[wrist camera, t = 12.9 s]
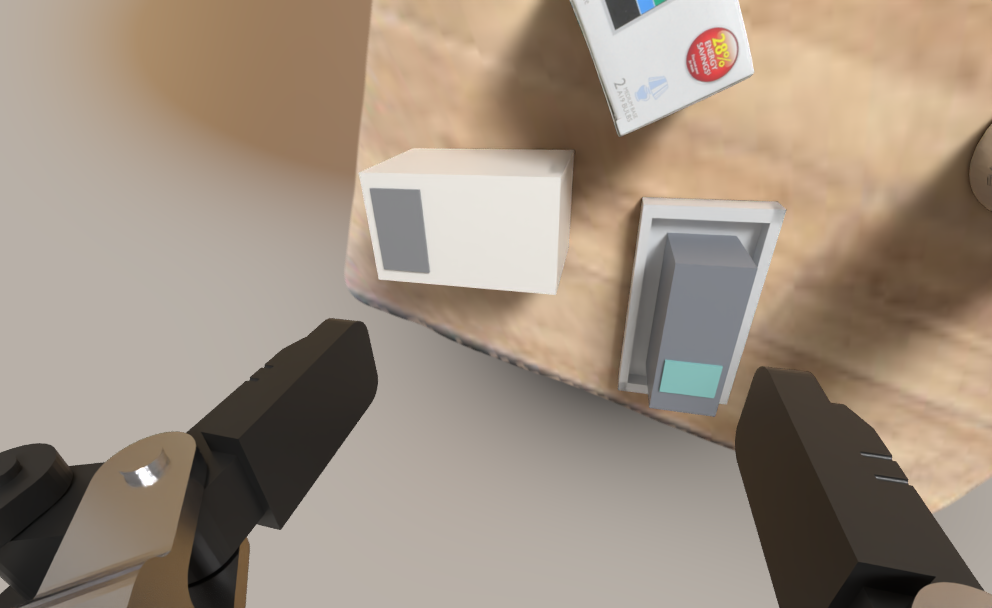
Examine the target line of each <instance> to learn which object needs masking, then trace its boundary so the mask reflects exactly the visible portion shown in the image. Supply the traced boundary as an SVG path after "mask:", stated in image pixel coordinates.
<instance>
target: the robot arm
mask: <svg viewBox="0 0 992 608" xmlns="http://www.w3.org/2000/svg"><path fill="white" fill-rule="evenodd" d="M969 179H970V184H971V189H972V191H973V193H974V195H975V196H976V198H977V200H978V201H979V202H980V203H981V204H982V205H983V206H985V207H986V208H987V209H988V210H990V211H992V124H991V125H990V127H989V128H988V129H987V130H986V132H985V133H984V135H983V136H982V138H981V140H980V141H979V143H978V145H977V146H976V149H975V151H974V154H973V157H972V160H971V163H970V172H969ZM377 385H378V375H377V370H376V366H375V361H374V357H373V352H372V348H371V343H370V338H369V334H368V330H367V327H366V325H365V324H364V323H363V322H361V321H352V320H343V319H334V318H329V319H327V320H325V321H324V322H323V323H321V324H320V325H319V326H318V327H317V328H316V329H315V330H314V331H312V332H311V333H310V334H309V335H308V336H307V337H305V338H303V339H301V340H299V341H297V342H295V343H293V344H291V345H289V346H288V347H286V348H284V349H282V350H281V351H280V352H279V353H277V354H276V355H275V356H274V357H273V358H272V359H271V360H269V361H268V362H267V363H266V364H265V367H264V368H260V369H259V370H258V371H257V372H256V373H254V374H253V375H252V376H251V377H250V380H249V381H245V382H244V383H243V384H242V385H241V386H240V387H238V388H237V389H236V390H235V391H234V392H233V393H231V394H230V395H229V396H228V397H227V398H226V399H225V400H224V401H222V402H221V403H220V404H219V405H218V406H217V407H215V408H214V409H213V410H212V411H211V412H210V413H209V414H207V415H206V416H205V417H204V418H203V419H202V420H200V421H199V422H198V423H197V424H196V425H195V426H194V427H192V428H191V429H190V430H189V431H188V432H187V433H184V432H164V433H159V434H155V435H152V436H149V437H146V438H144V439H141V440H139V441H137V442H135V443H133V444H131V445H129V446H127V447H125V448H124V449H122V450H121V451H119V452H118V453H116V454H115V455H113V456H112V457H111V458H110V459H108V460H107V461H106V462H104V463H94V464H85V465H75V466H68V465H67V464H66V462H65V461H64V460H63V458H62V457H61V456H60V455H59V453H58V452H57V451H56V449H55V448H54V447H53V446H51V445H48V444H40V443H39V444H29V445H24V446H20V447H16V448H12V449H10V450H7V451H4V452H1V453H0V577H1V578H2V579H3V580H4V581H6V582H7V583H8V584H9V585H10V586H9V587H8V588H7V589H5V590H4V591H3V592H2V593H1V594H0V608H245V606H246V594H247V580H248V567H249V554H250V544H249V541H248V538H247V536H248V534H249V533H250V532H251V531H252V529H253V528H254V527H255V525H256V524H258V525H262V526H266V527H270V528H274V529H279V530H281V529H282V527H283V526H284V525H285V523H286V522H287V520H288V519H289V518H290V516H291V515H292V513H293V512H294V511H295V509H296V508H297V506H298V505H299V504H300V502H301V501H302V499H303V498H304V497H305V495H306V494H307V492H308V491H309V490H310V488H311V487H312V485H313V484H314V483H315V481H316V480H317V478H318V477H319V475H320V474H321V473H322V471H323V470H324V469H325V467H326V466H327V464H328V463H329V462H330V460H331V459H332V457H333V456H334V455H335V453H336V452H337V450H338V449H339V448H340V446H341V445H342V443H343V442H344V441H345V439H346V438H347V436H348V435H349V434H350V432H351V431H352V429H353V428H354V427H355V425H356V424H357V422H358V421H359V420H360V418H361V417H362V415H363V414H364V413H365V411H366V410H367V408H368V407H369V405H370V404H371V403H372V401H373V399H374V397H375V394H376V391H377ZM735 451H736V458H737V463H738V466H739V470H740V473H741V476H742V480H743V483H744V487H745V490H746V493H747V497H748V501H749V504H750V507H751V511H752V515H753V518H754V521H755V525H756V528H757V532H758V535H759V538H760V542H761V546H762V549H763V553H764V556H765V559H766V563H767V566H768V570H769V573H770V576H771V580H772V584H773V587H774V591H775V594H776V598H777V601H778V604H779V608H992V594H989V593H987V592H985V591H984V589H983V588H982V587H981V586H980V584H979V583H978V581H977V580H976V578H975V577H974V575H973V574H972V572H971V571H970V569H969V568H968V566H967V565H966V564H965V562H964V560H963V559H962V558H961V556H960V555H959V553H958V552H957V550H956V549H955V547H954V546H953V544H952V543H951V542H950V540H949V538H948V537H947V536H946V534H945V533H944V531H943V530H942V528H941V527H940V525H939V524H938V522H937V521H936V519H935V518H934V517H933V515H932V513H931V512H930V511H929V509H928V508H927V506H926V505H925V503H924V502H923V500H922V499H921V497H920V496H919V494H918V493H917V491H916V490H915V489H914V487H913V486H910V485H909V484H908V478H907V477H906V475H905V474H904V472H903V471H902V469H901V468H900V466H899V465H898V464H897V462H896V461H892V455H891V453H890V452H889V450H888V449H887V447H886V446H885V444H884V443H883V442H882V440H881V439H880V437H879V436H878V434H877V433H876V431H875V430H874V428H872V427H871V426H870V425H869V424H867V423H866V422H865V421H864V420H863V419H861V418H860V417H859V416H858V415H856V414H855V413H854V412H853V411H852V410H850V409H849V408H848V407H847V406H845V405H844V404H836V403H830V401H829V399H828V398H827V396H826V394H825V393H824V391H823V389H822V388H821V386H820V385H819V383H818V381H817V380H816V378H815V377H814V375H813V374H812V373H810V372H808V371H799V370H790V369H781V368H772V367H763V366H762V367H759V368H758V369H757V371H756V373H755V375H754V377H753V380H752V383H751V387H750V390H749V393H748V396H747V399H746V402H745V405H744V408H743V411H742V414H741V417H740V420H739V423H738V426H737V430H736V437H735Z"/></svg>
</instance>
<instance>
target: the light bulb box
mask: <svg viewBox="0 0 992 608" xmlns="http://www.w3.org/2000/svg"><path fill="white" fill-rule="evenodd" d="M569 1H570V3H571V6H572V8H573V11H574V13H575V16H576V18H577V21H578V23H579V26H580V28H581V31H582V33H583V36H584V38H585V41H586V44H587V46H588V49H589V51H590V54H591V57H592V59H593V62H594V65H595V68H596V71H597V74H598V77H599V80H600V83H601V86H602V89H603V91H604V94H605V97H606V100H607V103H608V106H609V109H610V112H611V115H612V119H613V122H614V125H615V128H616V132H617V134H618V136H619V137H621V136H624V135H626V134H628V133H631V132H633V131H635V130H637V129H640V128H642V127H644V126H646V125H649V124H651V123H653V122H655V121H658V120H660V119H662V118H664V117H666V116H669V115H671V114H673V113H675V112H677V111H679V110H682V109H684V108H686V107H688V106H690V105H693V104H695V103H697V102H699V101H702V100H704V99H706V98H708V97H710V96H712V95H714V94H717V93H719V92H721V91H723V90H725V89H727V88H729V87H731V86H733V85H735V84H737V83H739V82H741V81H743V80H745V79H747V78H749V77H751V76H752V75H753V73H754V69H753V64H752V58H751V53H750V48H749V43H748V39H747V34H746V30H745V26H744V22H743V18H742V13H741V9H740V5H739V1H738V0H569Z"/></svg>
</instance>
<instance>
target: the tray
mask: <svg viewBox="0 0 992 608" xmlns="http://www.w3.org/2000/svg"><path fill="white" fill-rule="evenodd" d="M785 213H786V209H785V208H784V207H783V206H782V205H781V204H780V203H778V202H773V201H743V200H713V199H684V198H654V197H642V204H641V212H640V219H639V226H638V234H637V241H636V248H635V256H634V263H633V270H632V278H631V285H630V292H629V300H628V307H627V314H626V322H625V329H624V337H623V344H622V351H621V359H620V366H619V373H618V390H621V391H629V392H636V393H644V394H648V387H647V375H646V359H647V353H648V347H649V341H650V335H651V329H652V323H653V317H654V311H655V305H656V299H657V293H658V287H659V281H660V275H661V269H662V263H663V257H664V251H665V244H666V238H667V233H688V234H709V235H731V236H737V237H738V238H739V240H740V242H741V243H742V245H743V246H744V248H745V249H746V251H747V252H748V254H749V255H750V257H751V259H752V260H753V262H754V263H755V265H756V266H757V268H758V269H757V273H756V276H755V280H754V283H753V287H752V290H751V294H750V297H749V301H748V304H747V308H746V311H745V315H744V318H743V322H742V325H741V329H740V332H739V335H738V339H737V342H736V346H735V349H734V353H733V356H732V360H731V363H730V367H729V370H728V374H727V377H726V381H725V384H724V388H723V391H722V395H721V398H720V402H719V404H727V402H728V398H729V395H730V392H731V389H732V385H733V382H734V379H735V376H736V372H737V369H738V366H739V363H740V359H741V356H742V353H743V350H744V346H745V343H746V340H747V336H748V333H749V330H750V327H751V323H752V320H753V317H754V314H755V310H756V307H757V304H758V301H759V297H760V294H761V291H762V288H763V284H764V281H765V278H766V275H767V271H768V268H769V265H770V262H771V258H772V255H773V252H774V249H775V245H776V242H777V239H778V236H779V232H780V229H781V226H782V223H783V219H784V216H785Z"/></svg>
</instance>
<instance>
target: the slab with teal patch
mask: <svg viewBox="0 0 992 608" xmlns="http://www.w3.org/2000/svg"><path fill="white" fill-rule="evenodd" d="M757 269H758V268H757V266H756V265H755V263H754V262H753V260H752V259H751V257H750V255H749V254H748V252H747V251H746V249H745V248H744V246H743V245H742V243H741V242H740V240H739V238H738V237H737V236H731V235H709V234H688V233H667V238H666V244H665V251H664V257H663V263H662V269H661V275H660V281H659V287H658V293H657V299H656V305H655V311H654V317H653V323H652V329H651V335H650V341H649V347H648V353H647V359H646V375H647V387H648V399H649V408H655V409H662V410H669V411H677V412H684V413H691V414H699V415H706V416H713V417H715V415H716V412H717V408H718V405H719V402H720V398H721V395H722V391H723V388H724V384H725V381H726V377H727V374H728V370H729V367H730V363H731V360H732V356H733V353H734V349H735V346H736V342H737V339H738V335H739V332H740V329H741V325H742V322H743V318H744V315H745V311H746V308H747V304H748V301H749V297H750V294H751V290H752V287H753V283H754V280H755V276H756V273H757Z"/></svg>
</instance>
